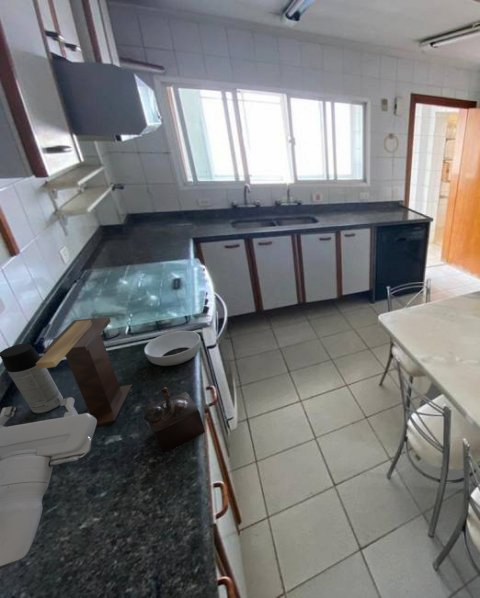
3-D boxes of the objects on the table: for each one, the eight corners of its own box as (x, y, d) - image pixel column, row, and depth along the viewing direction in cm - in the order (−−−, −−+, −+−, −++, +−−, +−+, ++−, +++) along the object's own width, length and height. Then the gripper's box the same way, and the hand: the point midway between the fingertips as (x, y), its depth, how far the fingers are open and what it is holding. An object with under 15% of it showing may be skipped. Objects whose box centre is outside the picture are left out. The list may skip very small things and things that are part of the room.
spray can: (59, 394, 100) (28, 339, 92) (68, 403, 97) (37, 347, 88) (29, 407, 95) (-7, 351, 86) (37, 417, 92) (1, 360, 83)
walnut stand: (79, 431, 89) (42, 351, 78) (102, 393, 103) (73, 320, 92) (115, 424, 92) (85, 346, 81) (133, 388, 105) (109, 316, 95)
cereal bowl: (149, 379, 110) (143, 362, 107) (150, 353, 123) (144, 338, 119) (206, 363, 119) (202, 347, 116) (202, 341, 131) (197, 325, 128)
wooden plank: (38, 369, 73) (35, 363, 72) (78, 325, 89) (76, 321, 89) (55, 366, 74) (53, 361, 73) (92, 324, 90) (90, 319, 90)
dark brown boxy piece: (150, 435, 90) (127, 384, 82) (194, 414, 97) (178, 365, 89) (166, 472, 80) (143, 419, 72) (214, 445, 87) (198, 394, 79)
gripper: (80, 455, 65) (94, 388, 72) (-70, 486, 57) (-38, 408, 64) (95, 461, 70) (107, 398, 77) (-41, 490, 62) (-14, 417, 69)
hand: (40, 403), depth 70 cm, fingers open, 8 cm apart
